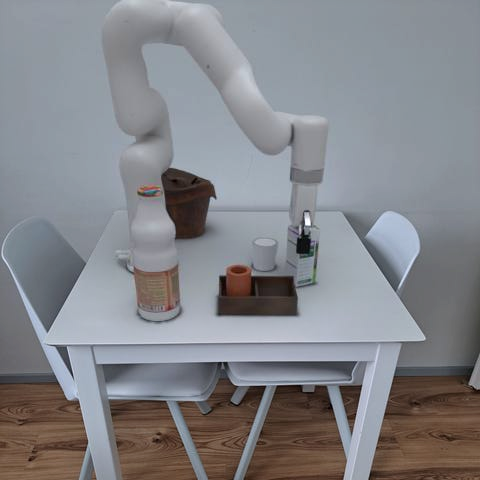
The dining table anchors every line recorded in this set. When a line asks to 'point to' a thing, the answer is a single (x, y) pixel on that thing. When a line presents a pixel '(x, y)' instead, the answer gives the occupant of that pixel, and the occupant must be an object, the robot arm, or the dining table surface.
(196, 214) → the brown tapered bucket
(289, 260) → the syrup box
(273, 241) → the white tapered cylinder
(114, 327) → the dining table surface
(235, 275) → the orange hollow cylinder
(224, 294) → the spice rack
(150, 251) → the fruit juice
